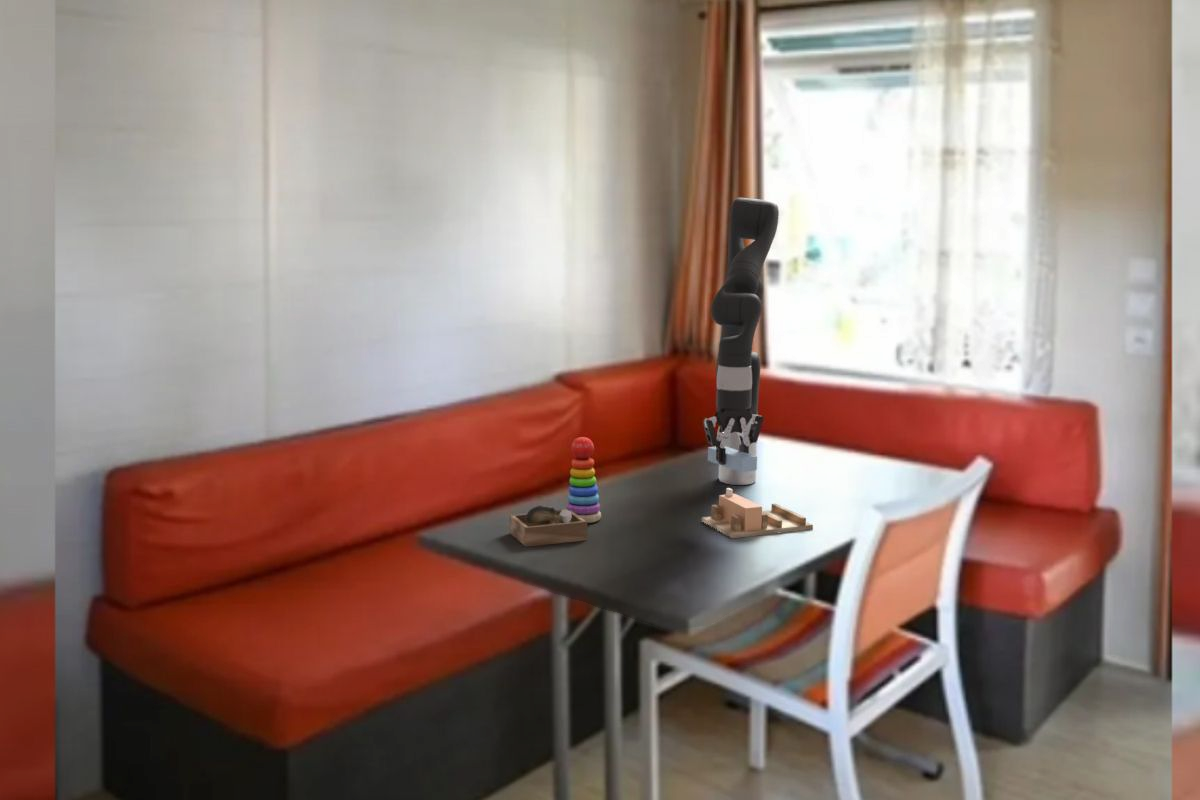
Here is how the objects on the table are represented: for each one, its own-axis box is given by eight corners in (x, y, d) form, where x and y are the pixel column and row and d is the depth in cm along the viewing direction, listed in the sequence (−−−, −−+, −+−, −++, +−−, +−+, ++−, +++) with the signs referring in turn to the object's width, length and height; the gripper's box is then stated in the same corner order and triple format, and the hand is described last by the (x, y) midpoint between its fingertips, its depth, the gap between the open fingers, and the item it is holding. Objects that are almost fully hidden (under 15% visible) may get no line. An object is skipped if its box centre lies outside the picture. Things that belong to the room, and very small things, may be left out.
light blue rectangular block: (707, 460, 264) (708, 447, 264) (722, 458, 266) (722, 445, 266) (741, 472, 254) (742, 458, 254) (756, 470, 256) (757, 456, 256)
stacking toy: (606, 516, 270) (606, 435, 267) (594, 525, 263) (594, 442, 259) (573, 513, 273) (573, 433, 269) (560, 522, 265) (560, 439, 262)
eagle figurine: (538, 522, 259) (517, 524, 251) (556, 496, 258) (535, 497, 250) (563, 545, 256) (542, 547, 248) (581, 519, 255) (560, 520, 247)
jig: (701, 521, 266) (702, 504, 266) (779, 513, 274) (780, 496, 273) (731, 538, 254) (732, 520, 253) (812, 529, 261) (813, 511, 261)
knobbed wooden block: (718, 517, 267) (719, 488, 266) (734, 515, 268) (735, 487, 267) (745, 530, 256) (745, 501, 255) (761, 529, 257) (762, 499, 256)
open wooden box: (509, 533, 256) (509, 515, 256) (569, 527, 261) (569, 509, 261) (525, 546, 247) (525, 528, 246) (587, 540, 252) (587, 521, 251)
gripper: (755, 381, 263) (753, 456, 266) (696, 384, 258) (694, 461, 261) (772, 387, 256) (769, 464, 259) (711, 390, 251) (709, 469, 254)
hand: (731, 462), depth 260 cm, fingers closed on light blue rectangular block, 4 cm apart
